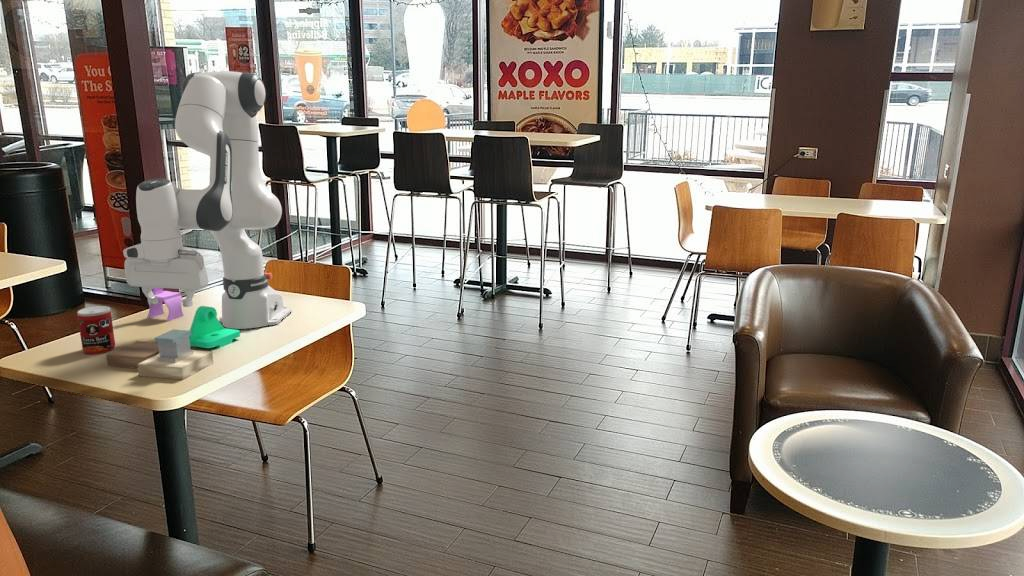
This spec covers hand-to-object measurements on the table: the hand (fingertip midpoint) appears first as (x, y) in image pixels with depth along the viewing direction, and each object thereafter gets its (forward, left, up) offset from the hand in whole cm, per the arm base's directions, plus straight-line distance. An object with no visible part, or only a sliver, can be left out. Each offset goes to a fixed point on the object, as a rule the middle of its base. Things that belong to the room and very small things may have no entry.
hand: (170, 305), depth 185 cm
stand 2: (0, 0, -16) cm, 16 cm away
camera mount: (-20, -3, -17) cm, 26 cm away
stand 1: (-4, -13, -16) cm, 21 cm away
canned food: (-9, -30, -16) cm, 35 cm away
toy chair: (-40, -33, -16) cm, 54 cm away
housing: (0, 0, -13) cm, 13 cm away
